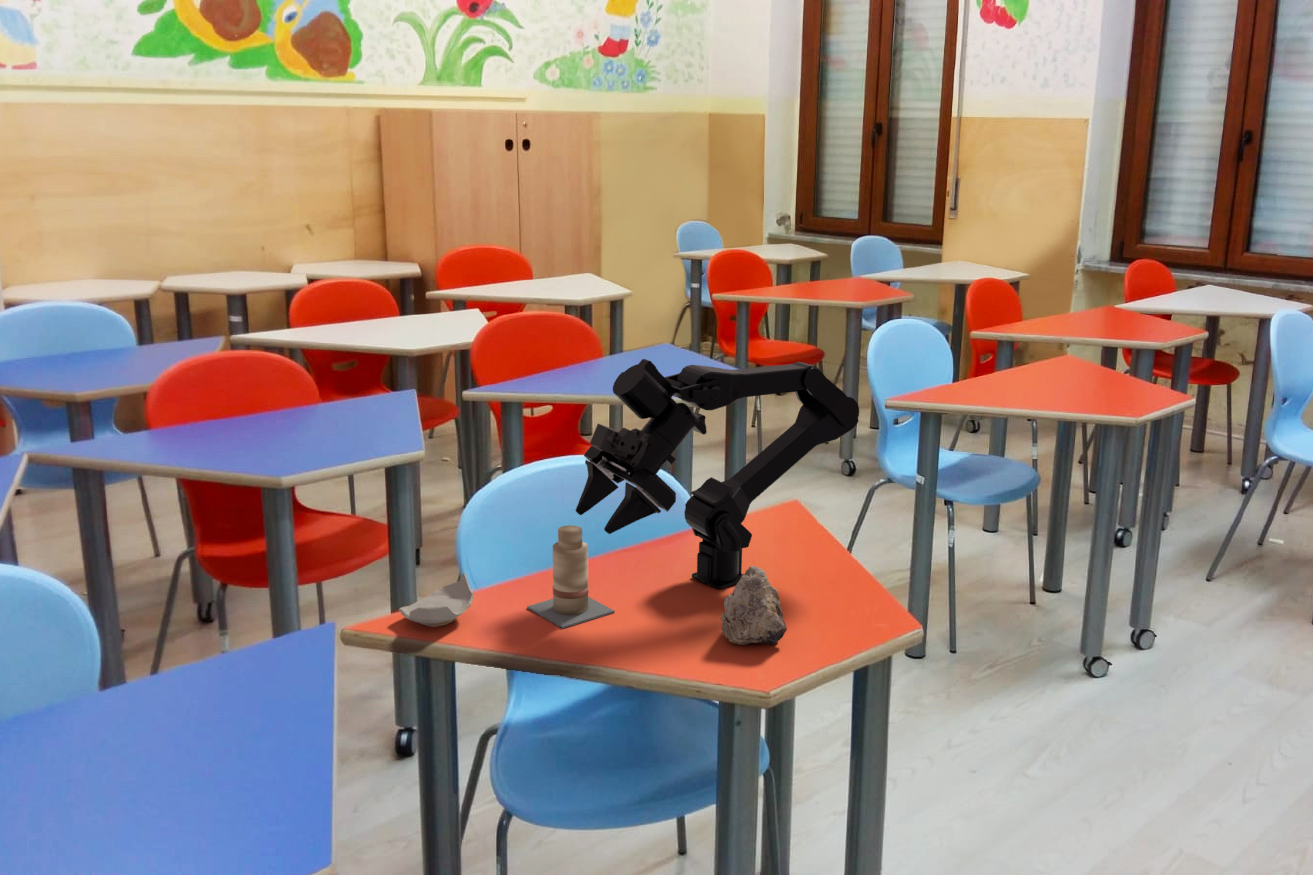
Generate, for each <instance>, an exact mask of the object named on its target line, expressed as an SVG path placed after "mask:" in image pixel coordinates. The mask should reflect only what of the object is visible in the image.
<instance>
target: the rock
mask: <svg viewBox="0 0 1313 875" xmlns="http://www.w3.org/2000/svg"><path fill="white" fill-rule="evenodd" d="M743 574H744V575H742V577H741V579H740V580H739V582H738V583H737V584H735V585H734V588H733V591H732V593H730V594H728V595H727V596H726V597H725V598H724V601H723V603H724V605H723V608H724V612H722V613H721V616H720V620H721V631H722V634H723V636H724V637H725V638H726V639H728V641H729V643H732V644H734V645H743V646H747V645H750V644H753V643H754V644H757V643H760V644H764V643H765V644H768V645H772V646H773V645H775V644H777V643H778V642H779V641H780V640H782V638H784V635H785V633H786V631H787V630H788V629H787V625H786V623H785V620H784V614H783V610H782V603H781V601H780V595H779V591H778V590H777V588H775V587H773V586H772V585H771V583H770V581H769V580H768V579H769V578H768V577H767V574H766V571H765V570H763V569H762V568H760V567H758V566H756V565H752V566H751V565H750V566H749V567H748V568H747V569H746V570H745V572H744V573H743Z"/></svg>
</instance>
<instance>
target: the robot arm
mask: <svg viewBox="0 0 1313 875" xmlns="http://www.w3.org/2000/svg"><path fill="white" fill-rule="evenodd" d="M613 382H614V383H613V386H612V393H613V394H614V395H615V396H616V397H617V398H618V399H619V400H620V401H621V402H622V403H623V404H624V405H625V406H626V407H627V408H628V409H630V411H631V412H633V414H635V416H636V417H637V418H638V419H640V420H641V419H642V420H645V419H648V418H649V420H648V421H647V422H646V423H645V425H644V426H643V427H642V428H641V429H638V428H636V427H634V428H632V429H631V430H630V429H628V428H625V427H623V428H621V429H620V430H617V429H615V428H611V427H610V426H606V425H604V424H600V423H597V424H596V427H595V428H594V429H595V430H594V432H593V434H592V437H591V439H590V442H589V444H590V445H591V446H590V447H589V448H588V449H587V450H586V452H585V453H584V454H583V456H584V458H586V459H585V461H584V464H585V465H586V467H587V468H586V469H587V478H586V481H585V484H584V485H585V486H584V488H583V491H582V492H581V495H580V498H579V501H578V502H577V506H576V509H575V512H576V513H577V515H579V516H582V515H584V514H585V513H587V512H589V511H590V510H592V508H594V507H595V506H596V505H597V504H599V503H600V502H601V501H603V500H605V499H606V498H607V497H608V496H609V495H611V494H612V493H613V492H615V491H616V490H618V489H619V486H618V485H617V484H620V483H621V482H624V481H626V482H625V486H624V488H625V489H624V497H623V499H622V500H621V502H619V503H620V504H619V505H618V507H616V509H615V510H614V512H613V513H612V515H611V517H609V520H608V521H607V522H606V524H605V526H604V529H603V530H604V531H605V532H606V533H607V534H608V535H611V534H613V533H615V532H618V531H619V530H621V529H623V528H625V527H628V526H629V525H631V524H634V523H635V522H638V521H640V520H642V519H644V518H647V517H649V516H651V515H653V514H660V513H662V510H664V512H665V511H666V512H667V513H668V512H669V510H671V508H672V507H673V506H674V504H676V502H677V492H676V491H675V490H674V489H673V488H672V487H671V486H670V485H669V484H667V483H666V482H665V481H664V480H663V479H662V478H661V477H660V476H659V475H658V472H659V471H660V470H661V469H662V468H663V466H664V465H665V464H666V463H668V464H669V465H673V463H675V461H676V457H674V456H673V454H674V453H675V451H676V450H678V448H679V446H680V445H681V444H682V443H683V441H684V440H685V439H686V438H687V437H688V435H689V434H690V433H691V432H692V431H694V432H697V433H699V434H702V435H703V436H704V435H706V434H707V432H708V431H707V425H706V415H704V414H701V413H699V412H694V411H693V410H692V409H691V408H690V407H689V406H688V405H687V404H690V405H692V406H695V407H697V408H700V409H701V410H704V411H715V410H718V409H720V408H721V409H722V408H724V407H727V406H731V405H732V404H733V403H735V402H736V401H738V400H740V399H744V398H749V397H751V398H752V397H758V396H759V397H761V396H768V395H769V396H770V395H775V394H776V395H777V394H784V393H795V395H796V398H797V400H798V401H799V403H800V404H802V405H801V406H800V408H799V411H798V412H797V413H798V414H797V417H796V420H795V422H794V423H793V424H792V425H790V427H789V428H787V430H785V431H784V432H782V434H780V435H779V436H778V437H777V438H775V439H774V440H773V441H772V442H771V443H770V444H769V445H768V446H766V447H765V448H764V449H763V450H761V451H760V452H759V453H758V454H757V455H756V456H755V457H754V458H752V459H751V460H750V461H749V462H747V463H746V464H745V465H744V466H743V467H742V468H741V469H739V471H738V472H736V473H735V474H734V475H733V476H731V477H730V478H729V479H727V480H724V481H720V480H718V479H716V478H714V477H709V478H707V479H706V480H705V481H704V482H703V483H702V485H701V486H699V488H696V489H695V490H693V491H691V492H690V495H692V496H691V497H690V498H689V499H688V500H687V501H686V503H685V505H684V506H685V508H684V519H685V522H686V524H687V525H688V526H689V527H691V530H692V533H693V535H694V536H695V537H698V538H700V539H702V541H699V542H698V552H697V555H696V556H697V557H696V572H693V573H691V578H693V579H695V580H696V581H699V582H701V583H704V584H706V585H708V586H711V587H712V588H714V589H718V590H721V589H725V588H727V587H731V586H733V585H734V586H735V585H736V584H737V583H738V582H739V580H740V579H741V577H742V575H744V574H745V573H742V567H743V566H742V565H743V563H742V562H743V549H746V548H749V546H750V543H751V540H752V537H753V533H751V531H750V530H748V528H746V527H745V526H744V525H743V524H742V523H743V522H744V521H745V519H746V517H747V514H748V510H749V508H750V505H751V504H752V502H753V501H754V500H756V499H757V498H758V497H759V496H760V495H761V494H763V493H764V492H765V491H767V489H769V487H771V486H772V485H773V484H774V483H775V482H777V480H779V479H780V478H781V477H782V476H783V475H784V474H786V473H787V472H788V471H789V470H791V469H792V467H793V466H795V465H796V464H797V463H798V462H800V461H801V460H802V459H803V458H804V457H805V456H807V455H808V453H809V452H811V451H812V450H814V449H815V448H816V447H817V446H819V445H823V444H826V443H829V442H833V441H835V440H838V439H840V438H842V437H843V436H845V435H846V434H847V433H848V434H849V432H851V431H852V430H853V429H854V428H856V427H857V425H858V424H859V422H860V421H859V420H860V419H859V417H860V407H859V403H858V402H857V401H856V399H855V398H853V397H851V396H848V395H847V394H846V393H845V392H844V391H843V390H842V389H840V388H839V387H838V386H837V385H836V384H834V383H833V382H832V381H831V380H830V379H828V378H827V377H826V375H825V374H824V373H823V372H822V371H821V370H820V368H818V367H817V366H815V365H812V364H809V363H806V362H802V361H797V362H794V363H790V364H789V363H788V364H778V365H770V366H769V365H768V366H758V367H748V368H747V367H746V368H738V369H736V368H735V369H728V368H721V367H714V366H709V365H708V366H707V365H700V364H699V365H697V364H689V365H686V366H684V367H682V369H681V371H680V372H679V373H675V374H672V375H668V376H664V375H663V374H662V373H661V372H660V371H659V370H658V368H657V367H656V365H655V364H654V363H653V361H651V360H649V359H646V358H642V359H641V360H640V361H639V362H638V364H634V365H632V366H629V368H627V369H626V370H625V371H622V372H620V374H619V375H618V376H617V377H616V379H615V381H613ZM672 397H675V398H677V399H680V400H681V402H677V401H675V400H674V398H672ZM684 402H685V403H684ZM686 403H687V404H686ZM661 509H662V510H661Z"/></svg>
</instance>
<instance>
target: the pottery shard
mask: <svg viewBox="0 0 1313 875" xmlns="http://www.w3.org/2000/svg"><path fill="white" fill-rule="evenodd" d="M474 596H475V594H474V592H473V591H472V588H471V586H470V582H469V581H468V578H467V574H466V573H464V572H463V573H462V574H461V576H460V579H459V581H456V582H453V583H450V584H447V585H444V586H442V587H440V588H438V589H436V590H434V591H433V592H432V593H431V594H429V595H427V596H425V597H424V598H422V599H420V600H418V601H416V602H414V603H412V604H410V605H408V606H407V605H406V606H402V607H399V609H398V611H399V613H401V615H402V616H403V617H404V618H406V619H407V620H409V621H412V622H415V623H419V624H421V626H422V625H423V626H425V627H431V628H435V627H443V626H446V625H448V624H450V623H452V622H454V621H455V619H456V618H458V617H459V616H461V615H462V614H464V613H465V612H466V611H467V610H469V608H470V607H471V605H472V603H473V600H474Z"/></svg>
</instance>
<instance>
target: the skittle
mask: <svg viewBox="0 0 1313 875" xmlns="http://www.w3.org/2000/svg"><path fill="white" fill-rule="evenodd" d="M557 537H558V538H557V542H555V543H554V544H553V545H552V599H553V609H554V611H555V612H556V613H558V614H561V615H579V614H582V613H585V612H586V611H587V610H588V597H589V593H590V592H589V545H588V543H587V542H586V541H585V542H584V541H583V528H582V527H581V526H578V525H572V524H571V525H570V524H569V525H562V526H560V527H559V528H558V529H557Z"/></svg>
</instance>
